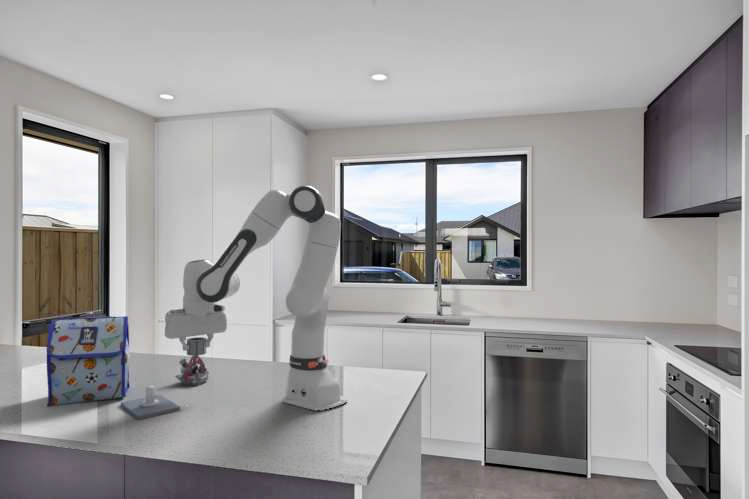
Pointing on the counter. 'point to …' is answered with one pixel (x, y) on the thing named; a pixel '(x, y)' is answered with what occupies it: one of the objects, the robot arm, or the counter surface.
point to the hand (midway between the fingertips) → (196, 348)
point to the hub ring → (196, 346)
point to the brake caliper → (193, 371)
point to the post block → (149, 405)
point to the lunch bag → (87, 359)
